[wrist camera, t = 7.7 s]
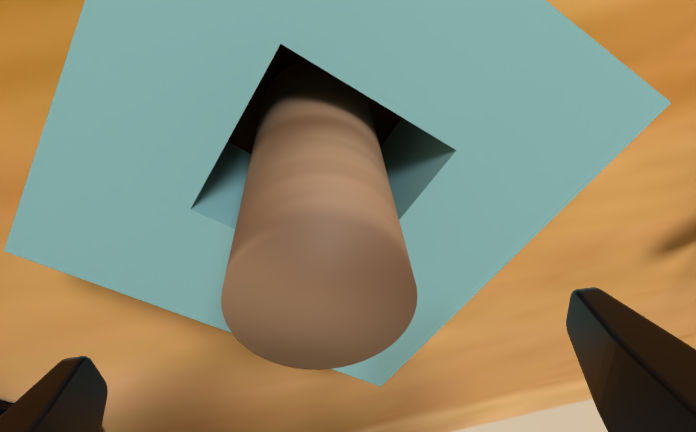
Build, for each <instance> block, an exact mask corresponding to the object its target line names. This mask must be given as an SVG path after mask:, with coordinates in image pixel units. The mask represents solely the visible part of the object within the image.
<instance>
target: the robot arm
mask: <svg viewBox="0 0 696 432" xmlns="http://www.w3.org/2000/svg"><path fill="white" fill-rule="evenodd" d="M566 326H567V331H568V335H569V337H570V340H571V343H572V345H573V348H574V350H575V353H576V356H577V358H578V361H579V364H580V366H581V369H582V371H583V374H584V377H585V379H586V382H587V384H588V387H589V390H590V392H591V395H592V398H593V400H594V402H595V405H596V407H597V410H598V412H599V414H600V416H601V418H602V420H603V422H604V424H605V426H606V428H607V430H608V432H696V350H695V349H694V348H692V347H691V346H689V345H688V344H686V343H684V342H683V341H681V340H680V339H678V338H677V337H675V336H673V335H672V334H670V333H669V332H667V331H665V330H664V329H662V328H661V327H659V326H658V325H656V324H654V323H653V322H651V321H650V320H648V319H646V318H645V317H643V316H642V315H640V314H639V313H637V312H635V311H634V310H632V309H631V308H629V307H628V306H626V305H624V304H623V303H621V302H620V301H618V300H616V299H615V298H613V297H612V296H610V295H609V294H607V293H605V292H604V291H602V290H601V289H598V288H595V287H592V288H584V289H577V290H574V291H573V292H572V294H571V297H570V303H569V308H568V314H567V319H566ZM106 399H107V385H106V382H105V380H104V379H103V377H102V376H101V374H100V373H99V371H98V370H97V368H96V367H95V365H94V364H93V362H92V361H91V359H90V358H88V357H86V356H80V357H73V358H67V359H64V360H62V361H61V362H59V363H58V364H57V365H56V366H55V367H54V368H53V369H52V370H50V371H49V372H48V373H47V374H46V375H45V376H44V377H43V378H42V379H41V380H39V381H38V382H37V383H36V384H35V385H34V386H33V387H32V388H31V389H30V390H28V391H27V392H26V393H25V394H24V395H23V396H22V397H21V398H20V399H19V400H17V401H16V402H15V403H14V404H10V403H6V402H2V401H0V432H103V430H102V429H101V427H102V421H103V416H104V410H105V405H106Z"/></svg>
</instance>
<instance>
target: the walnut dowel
mask: <svg viewBox="0 0 696 432" xmlns="http://www.w3.org/2000/svg"><path fill="white" fill-rule="evenodd" d="M417 297H418V295H417V286H416V282H415V279H414V275H413V271H412V267H411V263H410V260H409V256H408V252H407V248H406V244H405V241H404V237H403V233H402V229H401V225H400V222H399V218H398V214H397V210H396V206H395V203H394V199H393V195H392V191H391V187H390V183H389V180H388V176H387V172H386V168H385V164H384V161H383V157H382V153H381V149H380V145H379V142H378V138H377V134H376V130H375V126H374V123H373V119H372V115H371V111H370V107H369V104H368V100H367V96H366V95H364V94H363V93H361V92H359V91H358V90H356V89H354V88H353V87H351V86H350V85H348V84H346V83H345V82H343V81H341V80H340V79H338V78H336V77H335V76H333V75H331V74H330V73H328V72H326V71H325V70H323V69H321V68H320V67H318V66H317V65H315V64H313V63H312V62H310V61H307V62H301V63H298V64H295V65H293V66H291V67H288V68H287V69H285V70H284V71H282V72H281V73H280V74H279V75H277V76H276V77H275V79H274V80H273V81H272V82H271V84H270V85H269V87H268V88H267V91H266V93H265V95H264V99H263V103H262V107H261V112H260V117H259V121H258V126H257V131H256V135H255V140H254V144H253V149H252V154H251V158H250V163H249V168H248V172H247V177H246V182H245V186H244V191H243V195H242V200H241V205H240V209H239V214H238V219H237V223H236V228H235V233H234V237H233V242H232V246H231V251H230V256H229V260H228V265H227V270H226V274H225V279H224V283H223V288H222V295H221V308H222V312H223V316H224V319H225V321H226V324H227V326H228V328H229V329H230V331H231V332H232V334H233V335H234V336H235V337H236V338H237V340H238V341H239V342H240V343H242V344H243V345H244V346H245V347H246V348H247V349H249V350H250V351H252V352H253V353H255V354H257V355H258V356H260V357H262V358H264V359H266V360H269V361H271V362H274V363H277V364H280V365H284V366H288V367H293V368H300V369H316V370H320V369H333V368H340V367H345V366H349V365H353V364H356V363H359V362H362V361H365V360H367V359H369V358H371V357H374V356H375V355H377V354H379V353H381V352H382V351H384V350H385V349H387V348H388V347H390V346H391V345H392V344H393V343H394V342H395V341H397V340H398V339H399V338H400V337H401V335H402V334H403V333H404V332H405V331H406V329H407V328H408V326H409V324H410V323H411V321H412V319H413V316H414V314H415V310H416V306H417Z"/></svg>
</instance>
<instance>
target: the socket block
mask: <svg viewBox="0 0 696 432" xmlns="http://www.w3.org/2000/svg"><path fill="white" fill-rule="evenodd" d="M280 44H282V45H284V46H285V47H287V48H289V49H290V50H292V51H293V52H295V53H297V54H298V55H300V56H302V57H303V58H305V59H307V60H308V61H310V62H312V63H313V64H315V65H317V66H318V67H320V68H321V69H323V70H325V71H326V72H328V73H330V74H331V75H333V76H335V77H336V78H338V79H340V80H341V81H343V82H345V83H346V84H348V85H350V86H351V87H353V88H354V89H356V90H358V91H359V92H361V93H363V94H364V95H366V96H368V97H369V98H371V99H373V100H374V101H376V102H378V103H379V104H381V105H383V106H384V107H386V108H387V109H389V110H391V111H392V112H394V113H396V114H397V115H399V116H401V117H402V119H401V120H400V121H399V123H398V124H397V126H396V127H395V128H394V130H393V131H392V132H391V134H390V135H389V136H388V138H387V139H386V141H385V142H384V143H383V145H382V146H381V147H380V149H381V153H382V157H383V161H384V164H385V168H386V172H387V176H388V180H389V183H390V187H391V191H392V195H393V199H394V203H395V206H396V210H397V214H398V218H399V222H400V225H401V229H402V233H403V237H404V241H405V244H406V248H407V252H408V256H409V260H410V263H411V267H412V271H413V275H414V279H415V282H416V286H417V295H418V297H417V306H416V310H415V314H414V316H413V319H412V321H411V323H410V324H409V326H408V328H407V329H406V331H405V332H404V333H403V334H402V335H401V337H400V338H399V339H398V340H397V341H395V342H394V343H393V344H392V345H391V346H390V347H388V348H387V349H385V350H384V351H382V352H381V353H379V354H377V355H375V356H374V357H371V358H369V359H367V360H365V361H362V362H359V363H356V364H353V365H349V366H345V367H340V368H333V370H336V371H338V372H341V373H344V374H347V375H350V376H352V377H355V378H358V379H361V380H363V381H366V382H369V383H372V384H375V385H377V386H380V387H381V386H382V385H383V384H384V383H385V382H386V381H387V380H388V379H389V378H390V377H391V376H392V375H394V374H395V373H396V372H397V371H398V370H399V369H400V368H401V367H402V366H403V365H404V364H405V363H406V362H407V361H408V360H409V359H410V358H411V357H412V356H413V355H414V354H415V353H416V352H417V351H418V350H419V349H420V348H421V347H422V346H423V345H424V344H425V343H426V342H427V341H428V340H429V339H430V338H431V337H432V336H433V335H434V334H435V333H436V332H437V331H438V330H439V329H441V328H442V327H443V326H444V325H445V324H446V323H447V322H448V321H449V320H450V319H451V318H452V317H453V316H454V315H455V314H456V313H457V312H458V311H459V310H460V309H461V308H462V307H463V306H464V305H465V304H466V303H467V302H468V301H469V300H470V299H471V298H472V297H473V296H474V295H475V294H476V293H477V292H478V291H479V290H480V289H481V288H482V287H483V286H484V285H485V284H486V283H488V282H489V281H490V280H491V279H492V278H493V277H494V276H495V275H496V274H497V273H498V272H499V271H500V270H501V269H502V268H503V267H504V266H505V265H506V264H507V263H508V262H509V261H510V260H511V259H512V258H513V257H514V256H515V255H516V254H517V253H518V252H519V251H520V250H521V249H522V248H523V247H524V246H525V245H526V244H527V243H528V242H529V241H530V240H531V239H532V238H533V237H535V236H536V235H537V234H538V233H539V232H540V231H541V230H542V229H543V228H544V227H545V226H546V225H547V224H548V223H549V222H550V221H551V220H552V219H553V218H554V217H555V216H556V215H557V214H558V213H559V212H560V211H561V210H562V209H563V208H564V207H565V206H566V205H567V204H568V203H569V202H570V201H571V200H572V199H573V198H574V197H575V196H576V195H577V194H578V193H579V192H580V191H582V190H583V189H584V188H585V187H586V186H587V185H588V184H589V183H590V182H591V181H592V180H593V179H594V178H595V177H596V176H597V175H598V174H599V173H600V172H601V171H602V170H603V169H604V168H605V167H606V166H607V165H608V164H609V163H610V162H611V161H612V160H613V159H614V158H615V157H616V156H617V155H618V154H619V153H620V152H621V151H622V150H623V149H624V148H625V147H626V146H628V145H629V144H630V143H631V142H632V141H633V140H634V139H635V138H636V137H637V136H638V135H639V134H640V133H641V132H642V131H643V130H644V129H645V128H646V127H647V126H648V125H649V124H650V123H651V122H652V121H653V120H654V119H655V118H656V117H657V116H658V115H659V114H660V113H661V112H662V111H663V110H664V109H665V108H666V107H667V106H668V105H669V104H670V103H671V102H670V101H669V100H667V99H666V98H665V97H664V96H662V95H661V94H660V93H659V92H657V91H656V90H655V89H654V88H653V87H651V86H650V85H649V84H648V83H646V82H645V81H644V80H643V79H642V78H640V77H639V76H638V75H637V74H635V73H634V72H633V71H632V70H630V69H629V68H628V67H627V66H626V65H624V64H623V63H622V62H621V61H619V60H618V59H617V58H616V57H615V56H613V55H612V54H611V53H610V52H608V51H607V50H606V49H605V48H603V47H602V46H601V45H600V44H599V43H597V42H596V41H595V40H594V39H592V38H591V37H590V36H589V35H587V34H586V33H585V32H584V31H583V30H581V29H580V28H579V27H578V26H576V25H575V24H574V23H573V22H572V21H570V20H569V19H568V18H567V17H565V16H564V15H563V14H562V13H560V12H559V11H558V10H557V9H556V8H554V7H553V6H552V5H551V4H549V3H548V2H547V1H546V0H85V2H84V5H83V8H82V12H81V15H80V18H79V21H78V24H77V27H76V30H75V33H74V36H73V39H72V42H71V45H70V49H69V52H68V55H67V58H66V61H65V64H64V67H63V70H62V73H61V76H60V79H59V83H58V86H57V89H56V92H55V95H54V98H53V101H52V104H51V107H50V110H49V113H48V116H47V120H46V123H45V126H44V129H43V132H42V135H41V138H40V141H39V144H38V147H37V150H36V154H35V157H34V160H33V163H32V166H31V169H30V172H29V175H28V178H27V181H26V184H25V187H24V191H23V194H22V197H21V200H20V203H19V206H18V209H17V212H16V215H15V218H14V221H13V225H12V228H11V231H10V234H9V237H8V240H7V243H6V246H5V249H4V251H5V252H8V253H11V254H14V255H16V256H19V257H22V258H25V259H28V260H30V261H33V262H36V263H39V264H41V265H44V266H47V267H50V268H52V269H55V270H58V271H61V272H64V273H66V274H69V275H72V276H75V277H77V278H80V279H83V280H86V281H89V282H91V283H94V284H97V285H100V286H102V287H105V288H108V289H111V290H114V291H116V292H119V293H122V294H125V295H127V296H130V297H133V298H136V299H139V300H141V301H144V302H147V303H150V304H152V305H155V306H158V307H161V308H164V309H166V310H169V311H172V312H175V313H177V314H180V315H183V316H186V317H189V318H191V319H194V320H197V321H200V322H202V323H205V324H208V325H211V326H214V327H216V328H219V329H222V330H225V331H227V332H230V333H232V332H231V331H230V329H229V328H228V326H227V324H226V321H225V319H224V316H223V312H222V308H221V295H222V288H223V283H224V279H225V274H226V270H227V265H228V260H229V256H230V251H231V246H232V242H233V237H234V233H235V228H236V223H237V219H238V214H239V209H240V205H241V200H242V195H243V191H244V186H245V182H246V177H247V172H248V168H249V163H250V158H251V154H250V153H248V152H246V151H244V150H242V149H241V148H239V147H237V146H235V145H233V144H231V143H229V142H227V141H228V139H229V138H230V136H231V134H232V132H233V130H234V128H235V127H236V125H237V123H238V121H239V119H240V117H241V116H242V114H243V112H244V110H245V108H246V106H247V105H248V103H249V101H250V99H251V97H252V95H253V94H254V92H255V90H256V88H257V86H258V84H259V83H260V81H261V79H262V77H263V75H264V73H265V72H266V70H267V68H268V66H269V64H270V62H271V61H272V59H273V57H274V55H275V53H276V51H277V50H278V48H279V46H280Z"/></svg>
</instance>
